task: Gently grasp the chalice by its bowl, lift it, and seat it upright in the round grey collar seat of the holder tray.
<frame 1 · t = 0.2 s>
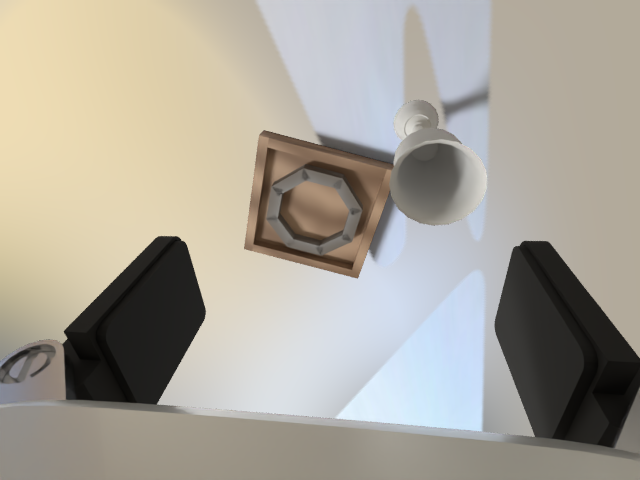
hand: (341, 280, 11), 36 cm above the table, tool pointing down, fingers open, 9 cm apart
chalice: (415, 122, 43), on the table
holder tray: (315, 206, 50), on the table
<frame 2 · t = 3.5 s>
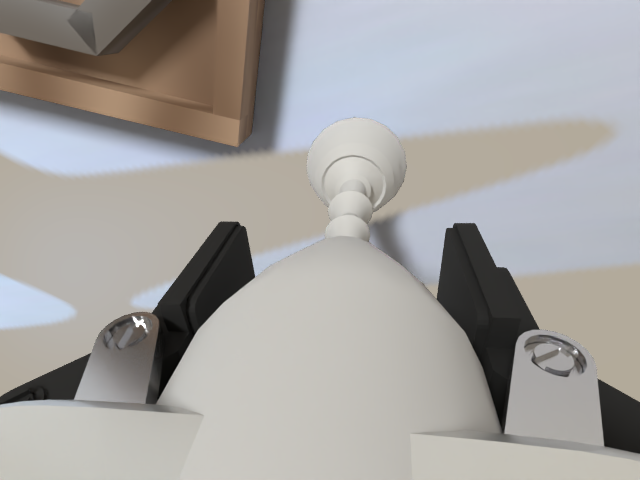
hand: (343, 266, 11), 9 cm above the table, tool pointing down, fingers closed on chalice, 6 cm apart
chalice: (355, 167, 19), on the table, touching gripper
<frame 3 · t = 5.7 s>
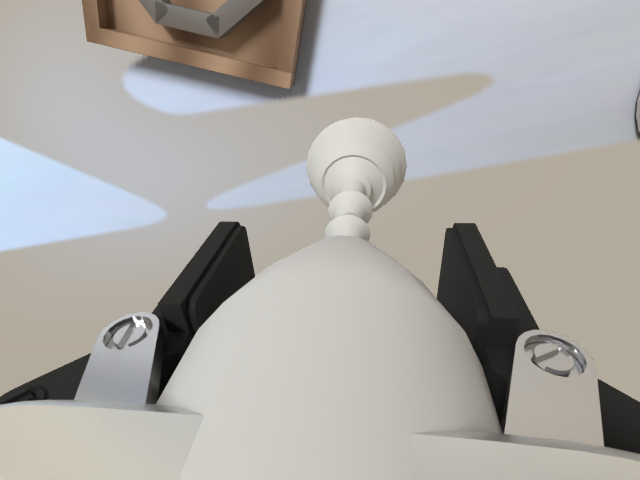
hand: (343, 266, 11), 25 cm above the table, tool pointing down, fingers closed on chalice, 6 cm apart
chalice: (355, 167, 19), point 16 cm above the table, touching gripper
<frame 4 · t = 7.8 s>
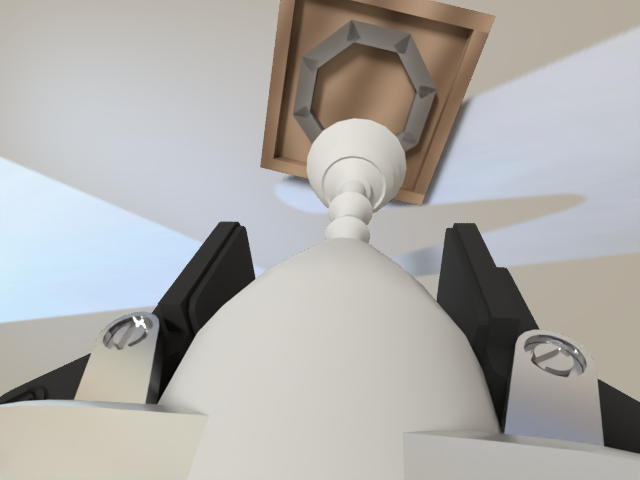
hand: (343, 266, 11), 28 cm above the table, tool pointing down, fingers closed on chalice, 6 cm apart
chalice: (355, 168, 19), point 19 cm above the table, touching gripper
holder tray: (362, 97, 35), on the table
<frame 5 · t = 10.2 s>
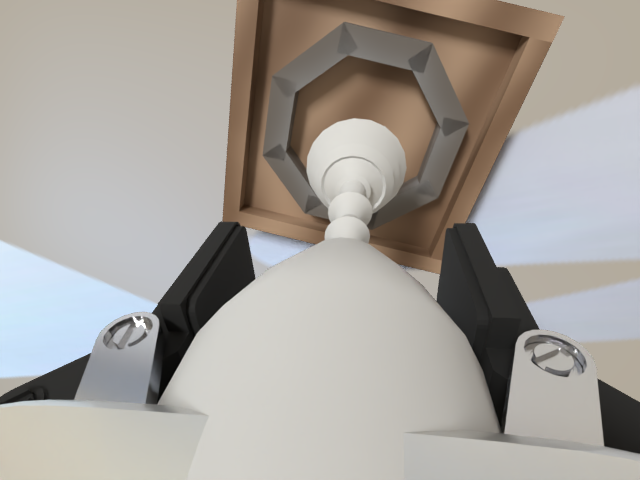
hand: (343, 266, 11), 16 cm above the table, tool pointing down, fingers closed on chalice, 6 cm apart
chalice: (355, 168, 19), point 7 cm above the table, touching gripper
holder tray: (361, 130, 25), on the table
when the fingers open (10 cm above the table, at t = 12.2 s): chalice stays where it is, resting on holder tray.
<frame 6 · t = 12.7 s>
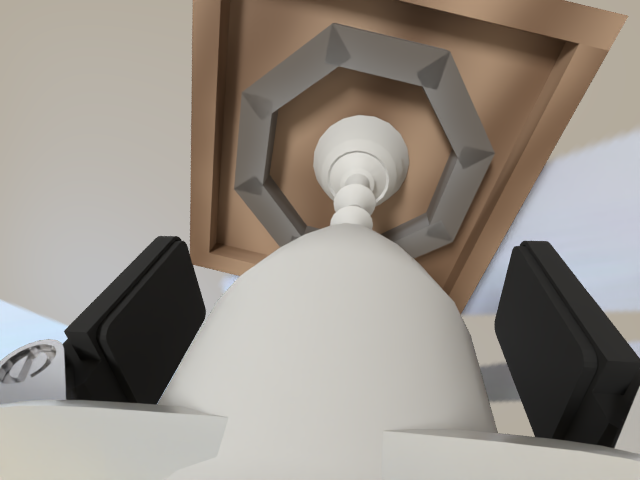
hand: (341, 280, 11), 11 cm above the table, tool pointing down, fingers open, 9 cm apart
chalice: (360, 163, 20), point 1 cm above the table, touching holder tray
holder tray: (356, 156, 20), on the table
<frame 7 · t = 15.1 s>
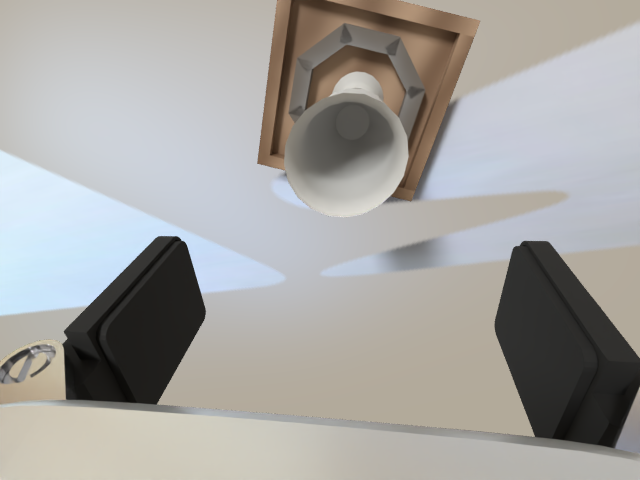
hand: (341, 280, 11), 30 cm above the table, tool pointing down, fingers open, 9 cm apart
chalice: (357, 99, 36), point 1 cm above the table, touching holder tray
holder tray: (355, 97, 37), on the table
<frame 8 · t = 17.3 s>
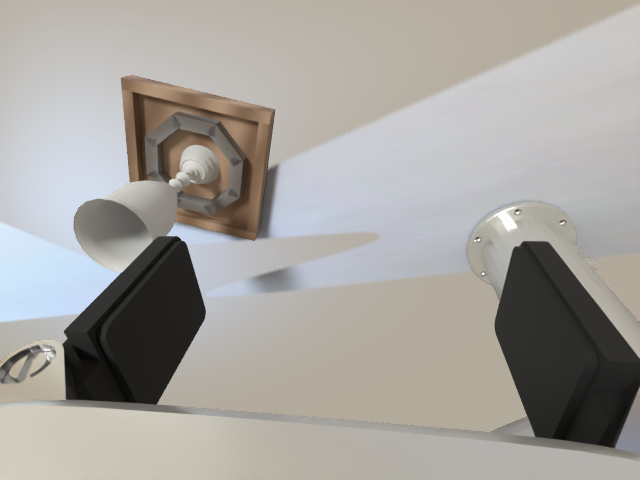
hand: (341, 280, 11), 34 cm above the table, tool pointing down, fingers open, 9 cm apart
chalice: (200, 164, 46), point 1 cm above the table, touching holder tray
holder tray: (201, 161, 47), on the table
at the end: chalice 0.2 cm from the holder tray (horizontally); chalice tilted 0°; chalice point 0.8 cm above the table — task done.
